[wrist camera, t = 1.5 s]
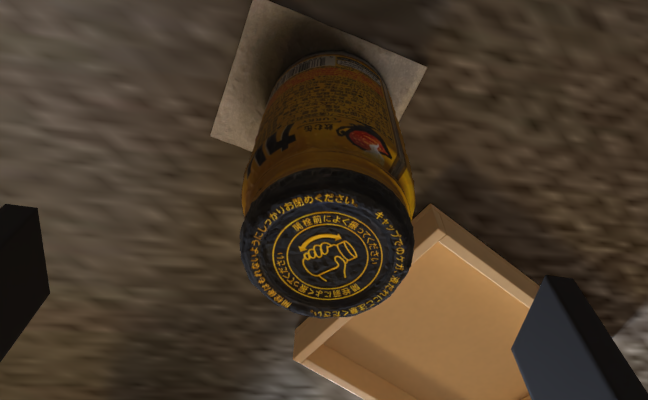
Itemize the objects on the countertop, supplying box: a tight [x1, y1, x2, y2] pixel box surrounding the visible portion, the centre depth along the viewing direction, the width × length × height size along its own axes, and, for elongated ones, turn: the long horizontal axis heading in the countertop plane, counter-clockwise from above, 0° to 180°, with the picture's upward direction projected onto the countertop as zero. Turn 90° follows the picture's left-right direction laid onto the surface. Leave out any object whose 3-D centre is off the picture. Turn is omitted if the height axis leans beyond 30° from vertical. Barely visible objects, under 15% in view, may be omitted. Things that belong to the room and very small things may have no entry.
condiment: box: [210, 0, 427, 319], centre depth 20 cm, size 7×8×12 cm
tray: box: [293, 203, 540, 400], centre depth 32 cm, size 16×12×2 cm
